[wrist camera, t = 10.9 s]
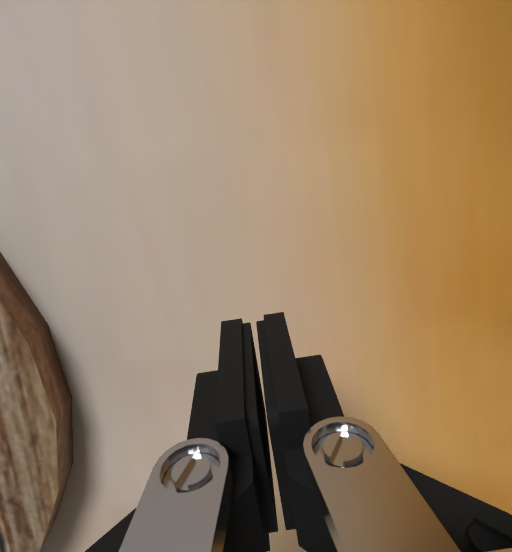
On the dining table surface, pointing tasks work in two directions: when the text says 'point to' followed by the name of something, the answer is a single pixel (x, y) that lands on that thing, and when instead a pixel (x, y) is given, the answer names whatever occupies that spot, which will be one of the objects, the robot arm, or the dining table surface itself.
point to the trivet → (30, 421)
